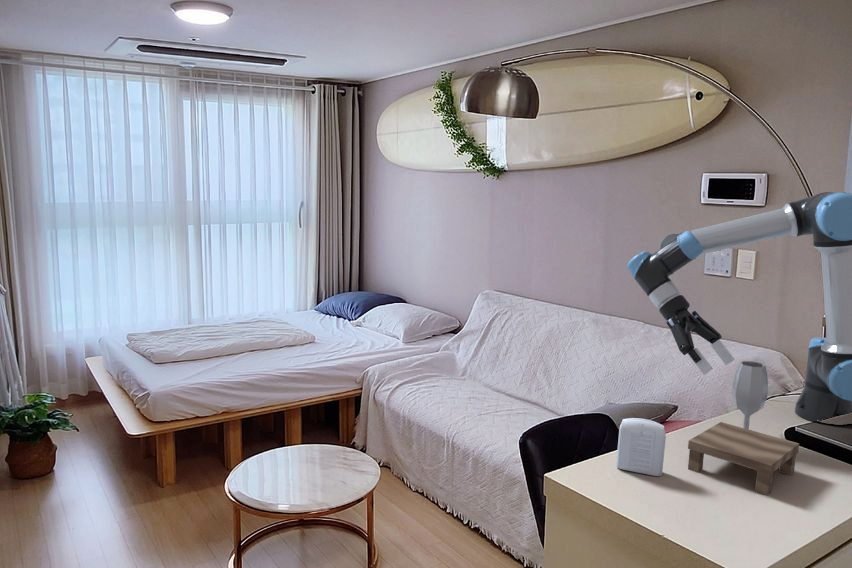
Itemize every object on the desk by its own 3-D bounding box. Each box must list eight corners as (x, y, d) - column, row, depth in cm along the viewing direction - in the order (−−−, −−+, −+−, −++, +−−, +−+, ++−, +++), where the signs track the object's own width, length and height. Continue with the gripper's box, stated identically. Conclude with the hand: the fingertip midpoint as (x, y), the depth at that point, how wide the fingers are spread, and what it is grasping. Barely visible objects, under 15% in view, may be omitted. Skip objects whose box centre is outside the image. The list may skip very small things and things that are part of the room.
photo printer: (663, 471, 155) (667, 420, 153) (661, 478, 151) (666, 426, 149) (617, 462, 158) (620, 412, 156) (615, 469, 155) (618, 418, 153)
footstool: (718, 448, 168) (720, 421, 167) (795, 471, 155) (799, 443, 154) (686, 469, 156) (688, 440, 155) (767, 496, 143) (771, 465, 142)
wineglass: (724, 445, 170) (732, 365, 167) (727, 433, 178) (734, 357, 175) (762, 452, 166) (771, 370, 163) (763, 440, 174) (772, 362, 171)
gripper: (680, 304, 194) (728, 366, 185) (637, 315, 176) (687, 383, 168) (700, 289, 189) (749, 351, 181) (657, 298, 172) (710, 368, 164)
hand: (719, 367), depth 174 cm, fingers open, 13 cm apart
